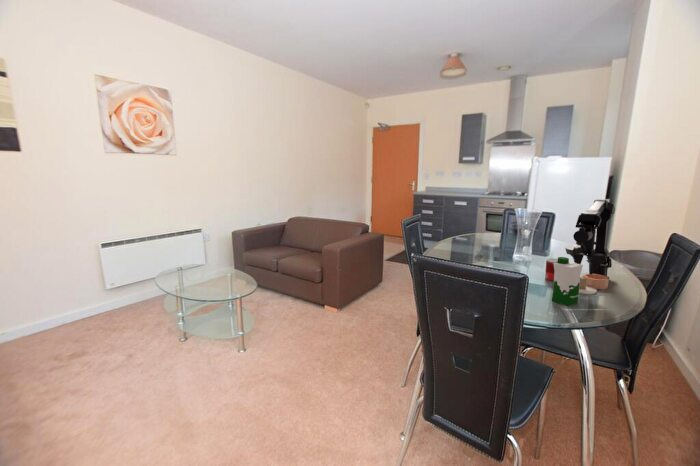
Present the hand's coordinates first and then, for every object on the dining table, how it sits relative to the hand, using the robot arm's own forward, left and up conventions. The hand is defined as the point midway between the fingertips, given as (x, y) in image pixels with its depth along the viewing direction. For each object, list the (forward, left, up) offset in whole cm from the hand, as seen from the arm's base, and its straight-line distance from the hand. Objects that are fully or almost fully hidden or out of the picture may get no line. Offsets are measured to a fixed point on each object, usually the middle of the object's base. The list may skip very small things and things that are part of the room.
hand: (583, 271), depth 147 cm
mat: (0, 0, -10) cm, 10 cm away
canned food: (+4, -16, -10) cm, 19 cm away
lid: (0, 0, -10) cm, 10 cm away
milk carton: (+16, +13, -10) cm, 23 cm away
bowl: (-10, -6, -10) cm, 15 cm away
